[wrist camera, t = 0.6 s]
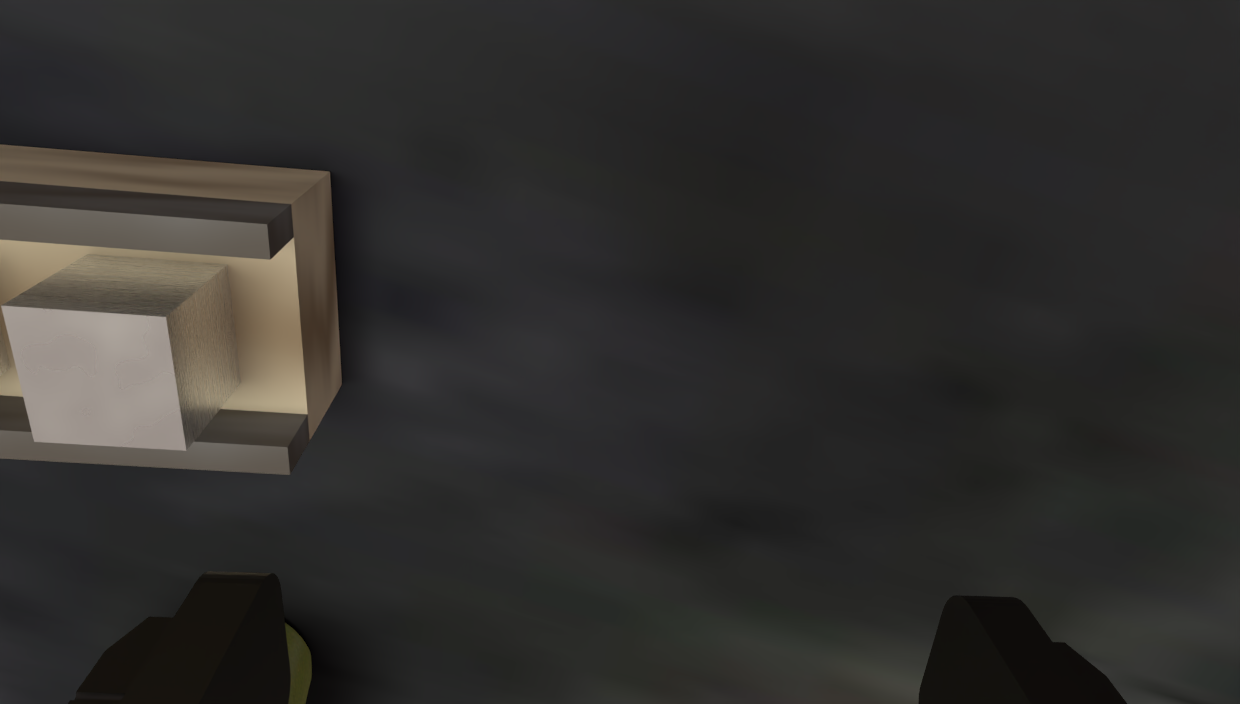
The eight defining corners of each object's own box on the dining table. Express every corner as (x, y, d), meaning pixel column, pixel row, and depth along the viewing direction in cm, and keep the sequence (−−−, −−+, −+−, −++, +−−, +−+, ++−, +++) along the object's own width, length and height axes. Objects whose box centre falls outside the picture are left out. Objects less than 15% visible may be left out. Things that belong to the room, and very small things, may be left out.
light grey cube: (87, 253, 24) (0, 305, 21) (227, 264, 25) (166, 316, 21) (110, 374, 26) (34, 441, 23) (241, 382, 26) (186, 450, 23)
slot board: (-116, 134, 27) (-295, 180, 21) (329, 171, 28) (267, 224, 22) (-53, 358, 30) (-194, 447, 25) (342, 384, 31) (290, 474, 26)
